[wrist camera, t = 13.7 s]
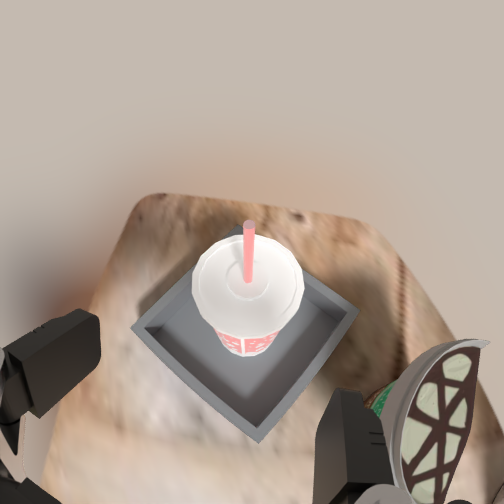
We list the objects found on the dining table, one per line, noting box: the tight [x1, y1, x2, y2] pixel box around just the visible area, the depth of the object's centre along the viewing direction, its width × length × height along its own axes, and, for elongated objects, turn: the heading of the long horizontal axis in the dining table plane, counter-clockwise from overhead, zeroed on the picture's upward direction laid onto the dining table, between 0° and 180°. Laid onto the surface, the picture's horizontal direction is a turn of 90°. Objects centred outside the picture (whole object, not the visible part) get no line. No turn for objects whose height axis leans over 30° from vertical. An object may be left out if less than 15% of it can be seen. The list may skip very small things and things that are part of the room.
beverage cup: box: [192, 220, 305, 357], centre depth 18 cm, size 6×6×14 cm
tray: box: [131, 225, 360, 444], centre depth 23 cm, size 13×13×3 cm
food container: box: [363, 339, 490, 504], centre depth 16 cm, size 12×6×10 cm, turn 158°
